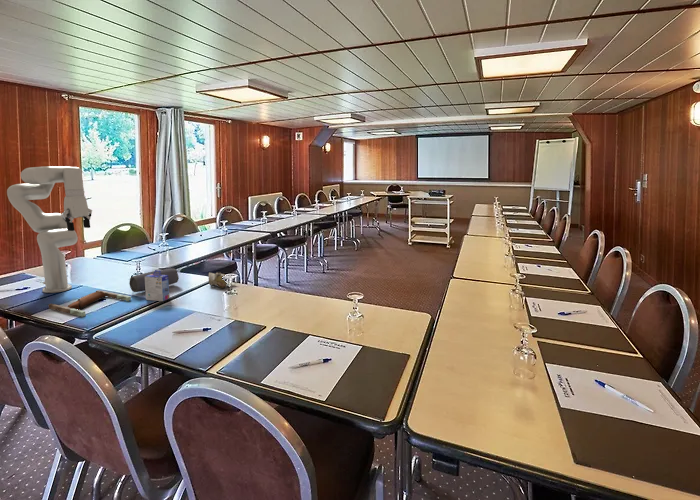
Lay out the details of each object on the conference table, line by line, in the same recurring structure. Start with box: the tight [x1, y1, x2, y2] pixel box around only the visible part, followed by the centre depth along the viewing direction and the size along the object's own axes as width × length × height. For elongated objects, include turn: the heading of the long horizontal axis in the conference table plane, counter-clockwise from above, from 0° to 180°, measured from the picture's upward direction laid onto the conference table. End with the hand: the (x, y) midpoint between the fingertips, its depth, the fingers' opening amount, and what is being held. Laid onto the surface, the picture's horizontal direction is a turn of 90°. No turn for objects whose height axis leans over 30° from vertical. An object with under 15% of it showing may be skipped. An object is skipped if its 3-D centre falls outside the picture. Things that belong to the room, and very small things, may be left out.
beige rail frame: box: [47, 289, 132, 318], centre depth 196 cm, size 23×24×2 cm
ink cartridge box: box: [145, 269, 170, 302], centre depth 205 cm, size 10×6×14 cm, turn 79°
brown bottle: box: [66, 290, 106, 310], centre depth 198 cm, size 18×7×7 cm
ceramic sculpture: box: [208, 271, 237, 289], centre depth 229 cm, size 11×9×15 cm
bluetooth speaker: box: [129, 267, 180, 293], centre depth 220 cm, size 23×9×10 cm, turn 144°
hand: (79, 229), depth 200 cm, fingers open, 9 cm apart
